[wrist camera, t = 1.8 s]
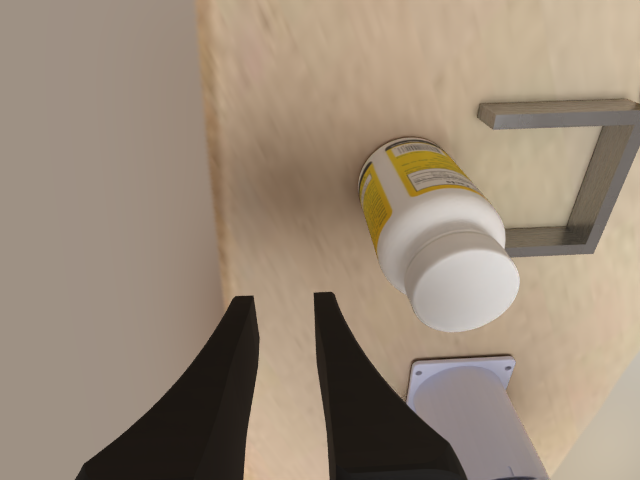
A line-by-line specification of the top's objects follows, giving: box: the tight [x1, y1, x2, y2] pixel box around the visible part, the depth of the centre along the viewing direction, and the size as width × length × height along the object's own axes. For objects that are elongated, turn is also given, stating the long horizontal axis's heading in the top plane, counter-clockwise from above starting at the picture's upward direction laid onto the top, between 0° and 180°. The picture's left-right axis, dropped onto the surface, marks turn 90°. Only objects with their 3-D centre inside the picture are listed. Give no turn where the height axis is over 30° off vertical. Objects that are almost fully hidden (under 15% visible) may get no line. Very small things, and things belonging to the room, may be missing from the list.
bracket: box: [477, 99, 640, 257], centre depth 22 cm, size 8×8×2 cm
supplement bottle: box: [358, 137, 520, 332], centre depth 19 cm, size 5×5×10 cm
